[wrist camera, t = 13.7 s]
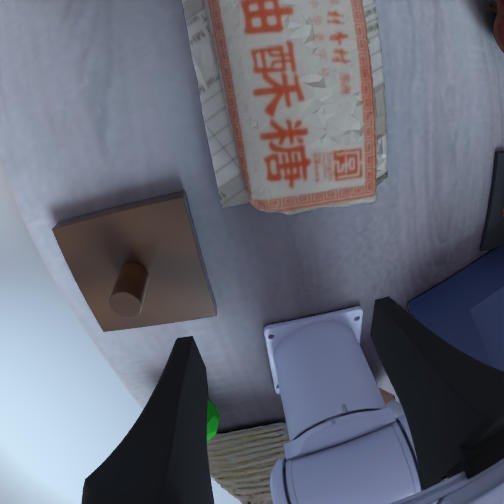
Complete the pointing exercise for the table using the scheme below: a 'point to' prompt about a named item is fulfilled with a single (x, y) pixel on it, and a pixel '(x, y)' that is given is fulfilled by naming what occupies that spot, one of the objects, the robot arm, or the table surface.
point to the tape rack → (138, 263)
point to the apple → (499, 23)
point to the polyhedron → (212, 420)
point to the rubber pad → (495, 208)
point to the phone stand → (469, 309)
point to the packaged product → (291, 100)
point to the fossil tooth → (247, 461)
